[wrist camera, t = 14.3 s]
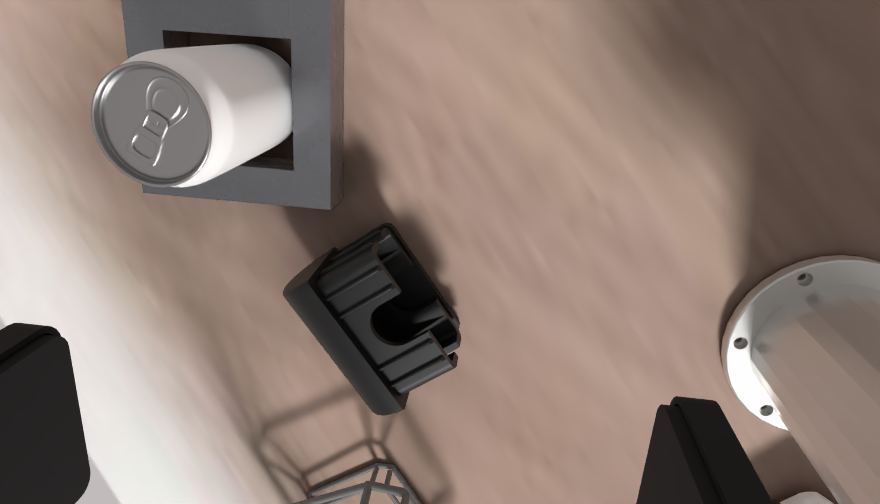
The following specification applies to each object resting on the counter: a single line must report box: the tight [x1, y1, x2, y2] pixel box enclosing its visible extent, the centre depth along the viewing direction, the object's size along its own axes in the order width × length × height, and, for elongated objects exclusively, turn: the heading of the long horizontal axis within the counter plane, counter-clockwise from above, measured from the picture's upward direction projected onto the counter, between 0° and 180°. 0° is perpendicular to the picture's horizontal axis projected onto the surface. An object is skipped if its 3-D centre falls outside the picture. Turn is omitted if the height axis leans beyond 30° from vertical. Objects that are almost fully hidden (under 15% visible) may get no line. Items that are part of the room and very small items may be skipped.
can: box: [91, 44, 293, 187], centre depth 33 cm, size 6×6×12 cm
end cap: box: [283, 223, 461, 415], centre depth 39 cm, size 10×7×7 cm
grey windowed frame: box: [121, 0, 344, 210], centre depth 35 cm, size 12×22×3 cm, turn 177°
